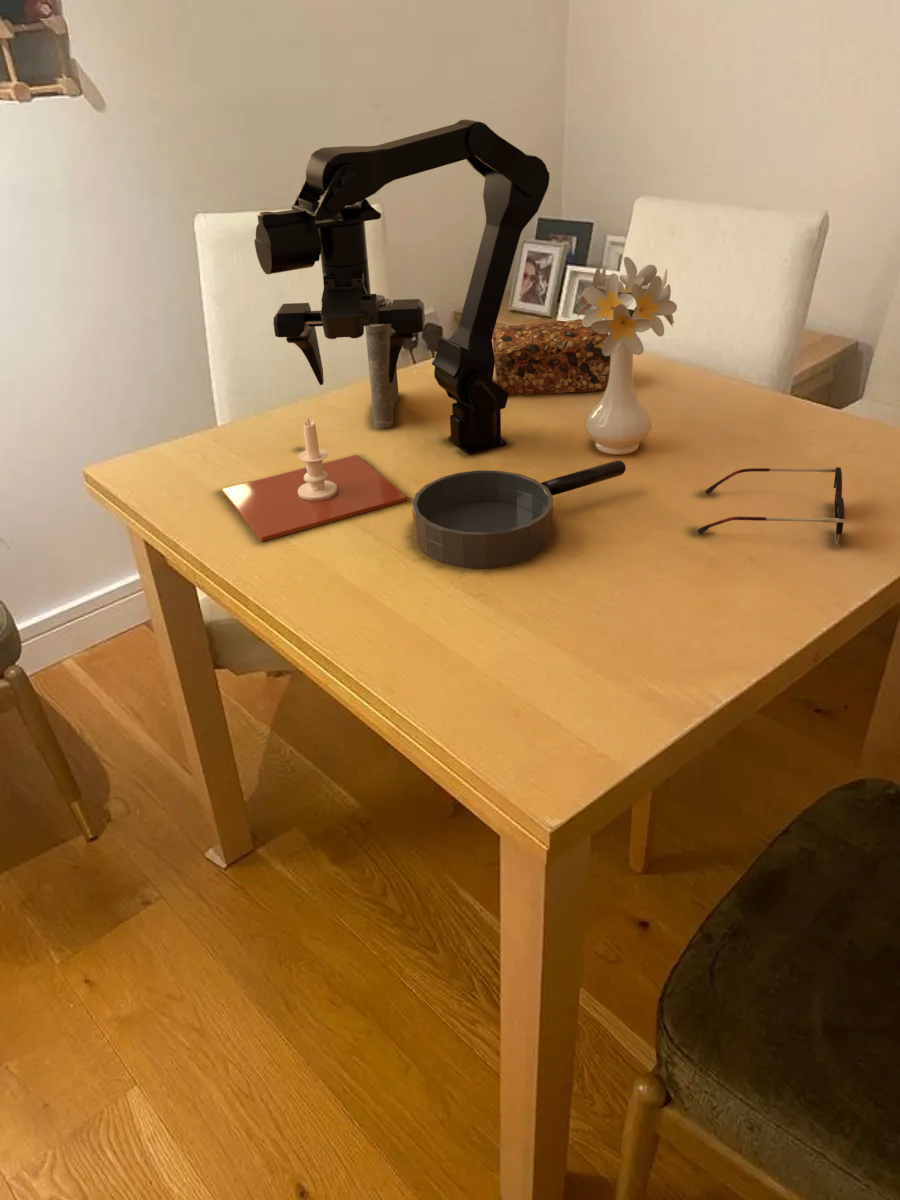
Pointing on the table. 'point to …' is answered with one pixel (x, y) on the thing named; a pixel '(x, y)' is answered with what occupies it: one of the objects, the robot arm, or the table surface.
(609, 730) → the table surface
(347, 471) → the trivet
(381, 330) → the flask
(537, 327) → the bread
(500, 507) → the pan
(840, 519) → the sunglasses
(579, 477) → the pan handle
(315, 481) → the candle
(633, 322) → the flower vase
